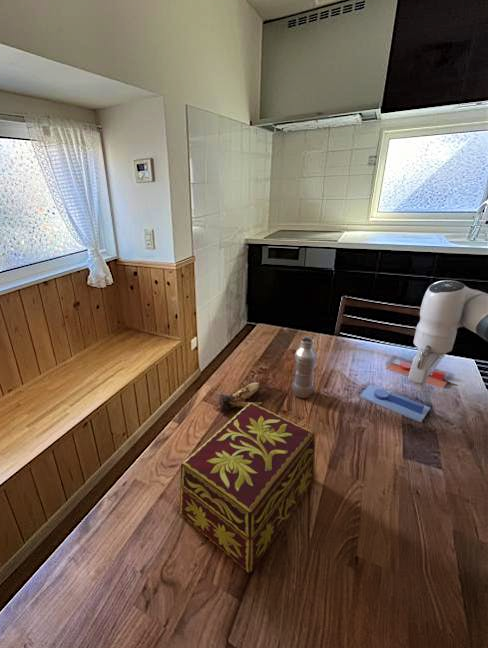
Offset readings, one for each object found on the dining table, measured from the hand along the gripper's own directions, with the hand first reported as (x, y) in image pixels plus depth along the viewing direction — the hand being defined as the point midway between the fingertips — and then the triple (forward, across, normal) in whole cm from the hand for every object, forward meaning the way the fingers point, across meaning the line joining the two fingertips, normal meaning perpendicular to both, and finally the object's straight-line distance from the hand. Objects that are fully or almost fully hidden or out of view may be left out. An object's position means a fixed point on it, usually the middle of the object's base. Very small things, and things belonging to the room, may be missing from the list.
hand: (423, 382), depth 97 cm
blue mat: (+9, -3, +6) cm, 11 cm away
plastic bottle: (+8, -18, +28) cm, 34 cm away
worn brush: (+8, -34, +38) cm, 52 cm away
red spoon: (+8, +19, +6) cm, 21 cm away
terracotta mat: (+9, +19, +6) cm, 22 cm away
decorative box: (+8, -59, +16) cm, 62 cm away
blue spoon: (+8, -3, +6) cm, 10 cm away
